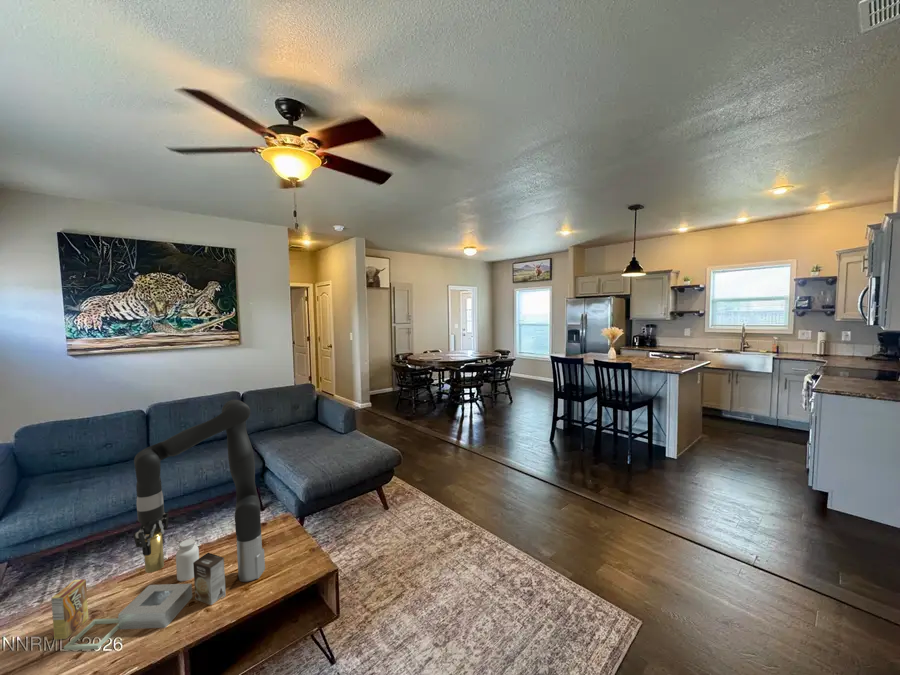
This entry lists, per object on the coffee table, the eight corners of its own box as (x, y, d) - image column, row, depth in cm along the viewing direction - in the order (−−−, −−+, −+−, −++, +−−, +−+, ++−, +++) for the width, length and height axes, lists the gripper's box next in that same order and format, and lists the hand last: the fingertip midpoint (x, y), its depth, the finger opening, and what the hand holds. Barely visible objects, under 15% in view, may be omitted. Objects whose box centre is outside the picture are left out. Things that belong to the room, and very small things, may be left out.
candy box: (77, 619, 135) (73, 579, 134) (89, 618, 136) (86, 578, 135) (53, 640, 126) (49, 598, 125) (67, 639, 127) (63, 597, 126)
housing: (192, 599, 144) (191, 583, 144) (166, 630, 130) (165, 612, 130) (150, 600, 144) (149, 584, 143) (119, 631, 130) (118, 614, 129)
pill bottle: (204, 570, 160) (202, 537, 159) (189, 584, 152) (187, 549, 151) (187, 569, 161) (185, 536, 160) (172, 582, 153) (169, 548, 152)
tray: (126, 623, 133) (126, 618, 133) (98, 651, 122) (97, 645, 122) (95, 624, 133) (94, 619, 133) (64, 652, 122) (63, 646, 122)
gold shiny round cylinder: (167, 562, 138) (165, 530, 137) (156, 572, 133) (154, 538, 132) (153, 562, 138) (150, 530, 137) (141, 573, 133) (138, 539, 132)
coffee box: (194, 602, 143) (191, 562, 142) (209, 590, 149) (207, 552, 148) (211, 607, 140) (209, 567, 139) (226, 595, 146) (224, 556, 145)
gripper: (145, 515, 127) (148, 562, 128) (175, 494, 141) (177, 537, 142) (122, 516, 127) (126, 563, 128) (154, 495, 141) (158, 538, 142)
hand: (153, 549), depth 135 cm, fingers closed on gold shiny round cylinder, 5 cm apart
